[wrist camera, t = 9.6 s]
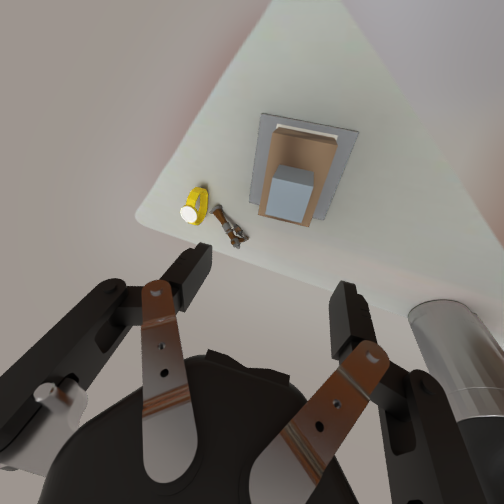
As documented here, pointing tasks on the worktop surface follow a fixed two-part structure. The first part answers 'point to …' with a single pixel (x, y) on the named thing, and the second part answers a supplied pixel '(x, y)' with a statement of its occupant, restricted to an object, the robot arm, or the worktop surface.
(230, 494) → the robot arm
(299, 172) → the gray block
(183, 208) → the watch
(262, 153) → the build pad
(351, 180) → the worktop surface
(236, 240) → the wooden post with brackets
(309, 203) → the walnut block
